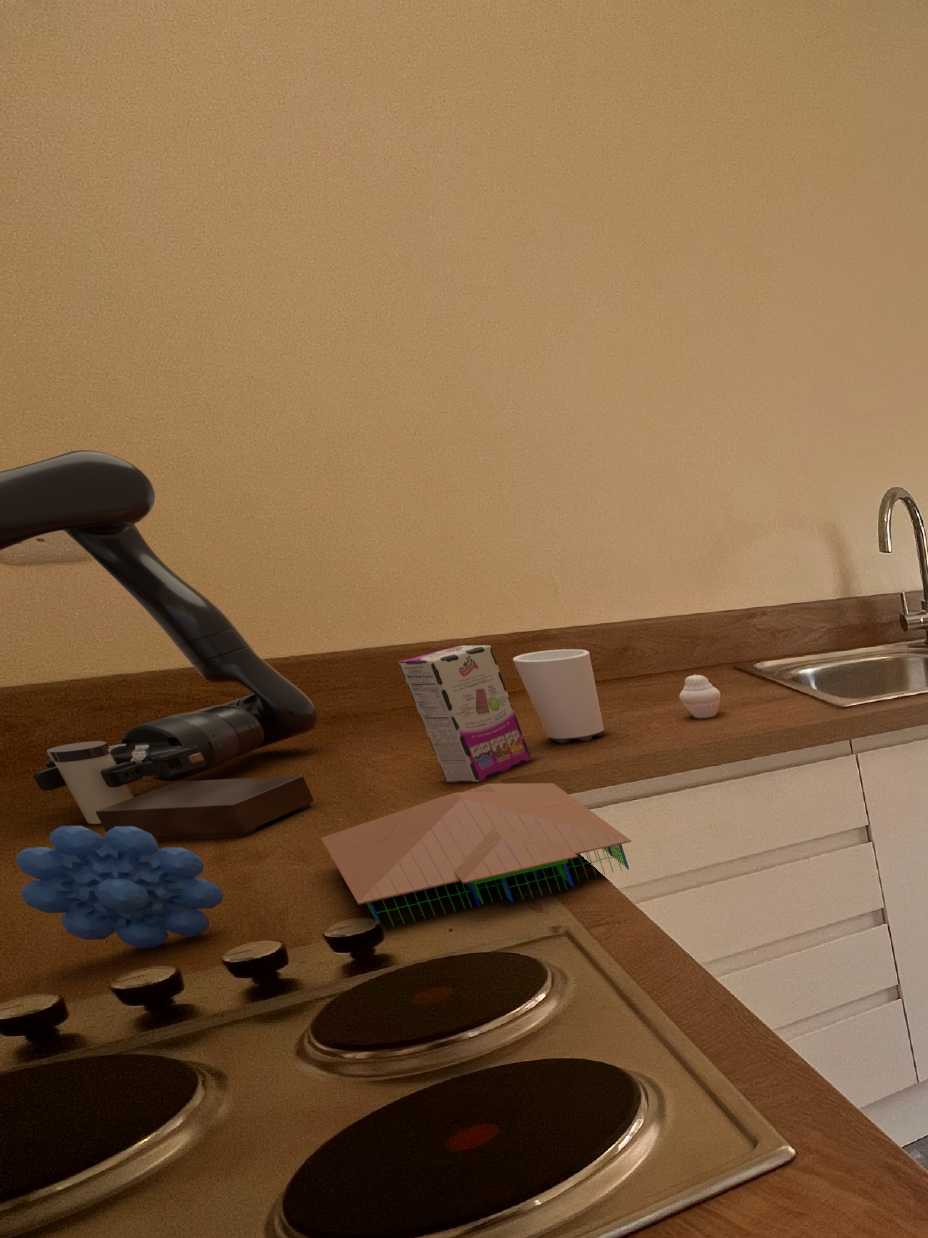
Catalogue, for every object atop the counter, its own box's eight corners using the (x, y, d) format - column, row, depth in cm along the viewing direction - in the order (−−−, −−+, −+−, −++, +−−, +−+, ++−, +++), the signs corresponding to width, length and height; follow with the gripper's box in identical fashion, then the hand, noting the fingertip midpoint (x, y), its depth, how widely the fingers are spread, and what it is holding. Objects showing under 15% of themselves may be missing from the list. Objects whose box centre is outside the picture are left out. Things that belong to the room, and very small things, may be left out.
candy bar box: (499, 760, 150) (458, 644, 143) (533, 760, 150) (493, 644, 143) (442, 783, 140) (395, 660, 133) (478, 783, 140) (433, 659, 133)
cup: (596, 727, 168) (572, 646, 162) (625, 736, 163) (601, 653, 157) (528, 740, 161) (500, 656, 155) (556, 749, 156) (528, 663, 150)
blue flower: (60, 983, 88) (-21, 851, 83) (65, 958, 93) (-11, 831, 87) (242, 942, 96) (179, 818, 90) (239, 920, 100) (179, 801, 95)
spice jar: (74, 825, 126) (33, 753, 122) (109, 812, 130) (71, 742, 126) (121, 823, 127) (82, 750, 122) (154, 810, 131) (117, 740, 127)
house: (377, 944, 95) (340, 861, 91) (327, 856, 116) (296, 785, 112) (648, 875, 109) (626, 801, 106) (561, 808, 130) (540, 744, 127)
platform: (112, 844, 120) (94, 811, 118) (193, 812, 130) (177, 781, 128) (248, 837, 122) (232, 804, 120) (316, 805, 132) (303, 775, 130)
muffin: (700, 711, 178) (689, 669, 174) (733, 712, 177) (723, 670, 174) (676, 720, 172) (665, 677, 169) (710, 721, 171) (699, 678, 168)
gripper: (107, 719, 136) (-14, 753, 121) (230, 714, 138) (126, 747, 123) (136, 775, 139) (22, 814, 124) (256, 769, 141) (157, 807, 126)
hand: (74, 780), depth 124 cm, fingers open, 6 cm apart
